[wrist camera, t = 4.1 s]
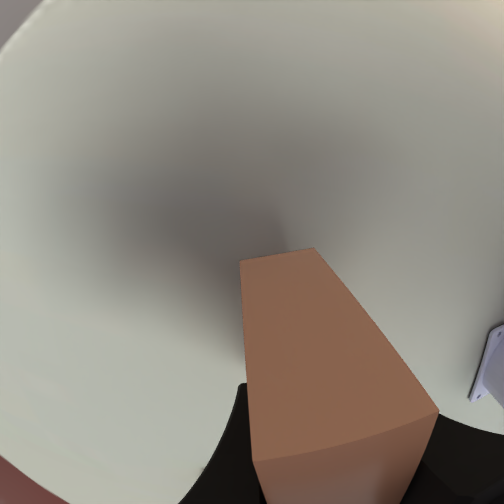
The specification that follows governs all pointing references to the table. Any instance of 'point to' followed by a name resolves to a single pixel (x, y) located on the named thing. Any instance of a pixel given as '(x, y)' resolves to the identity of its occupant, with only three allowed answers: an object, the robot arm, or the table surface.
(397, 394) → the orange-brown angular block
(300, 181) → the table surface
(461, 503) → the robot arm
